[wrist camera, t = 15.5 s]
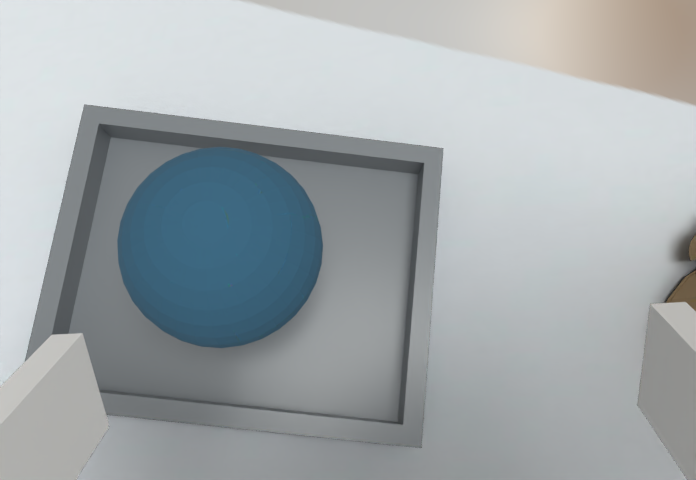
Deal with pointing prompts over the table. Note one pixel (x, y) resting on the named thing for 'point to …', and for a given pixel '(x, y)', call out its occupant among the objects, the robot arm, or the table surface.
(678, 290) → the alarm clock
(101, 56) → the table surface
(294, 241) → the light bulb
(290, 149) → the tray
